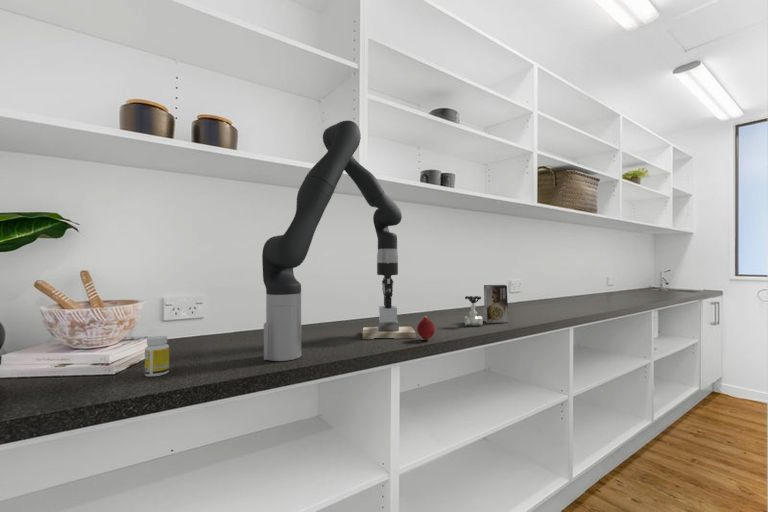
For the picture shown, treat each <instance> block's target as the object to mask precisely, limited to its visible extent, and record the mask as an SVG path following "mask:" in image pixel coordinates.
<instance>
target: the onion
mask: <svg viewBox="0 0 768 512" xmlns="http://www.w3.org/2000/svg"><path fill="white" fill-rule="evenodd" d="M416 330H417V334H418V335H419V336H420V337H421V338H422V339H423V340H424V341H428V340H429V339H431V338H432V337H433V336H434V334H435V331H436V327H435V324H434V322H432V320H430V319H429V318H428V317H427V315H424V316H423V319H421V320H420V321H419V323H418V324H417V328H416Z"/></svg>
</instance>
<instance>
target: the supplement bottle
mask: <svg viewBox="0 0 768 512" xmlns="http://www.w3.org/2000/svg"><path fill="white" fill-rule="evenodd" d="M169 372H170V345H169V344H168V336H167V335H156V336H155V335H154V336H149V337H147V338H146V346H145V348H144V376H145V377H149V378H150V377H159V376H163V375H166V374H168V373H169Z"/></svg>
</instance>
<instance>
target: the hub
mask: <svg viewBox="0 0 768 512" xmlns="http://www.w3.org/2000/svg"><path fill="white" fill-rule="evenodd" d="M378 308H379V309H378V312H379V314H378V316H379V319H378V320H379V321H380V323H389V322H397V320H398V308H397V306H396V305H391V309H386V308H385V306H384V305H383V306H378Z"/></svg>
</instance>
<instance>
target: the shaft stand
mask: <svg viewBox="0 0 768 512" xmlns="http://www.w3.org/2000/svg"><path fill="white" fill-rule="evenodd" d="M385 298H386V297H385ZM390 298H391V299H392V297H390ZM416 334H417V333H416V331H415V330H414V328H413V327H412V326H400V322H399V321H398V319H397V322H389V323H380V321H379V319H378V321H377V326H368V327H367V326H366V327H365V326H364V327H363V328H362V340H375V339H374V338H394V339H416Z"/></svg>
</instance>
